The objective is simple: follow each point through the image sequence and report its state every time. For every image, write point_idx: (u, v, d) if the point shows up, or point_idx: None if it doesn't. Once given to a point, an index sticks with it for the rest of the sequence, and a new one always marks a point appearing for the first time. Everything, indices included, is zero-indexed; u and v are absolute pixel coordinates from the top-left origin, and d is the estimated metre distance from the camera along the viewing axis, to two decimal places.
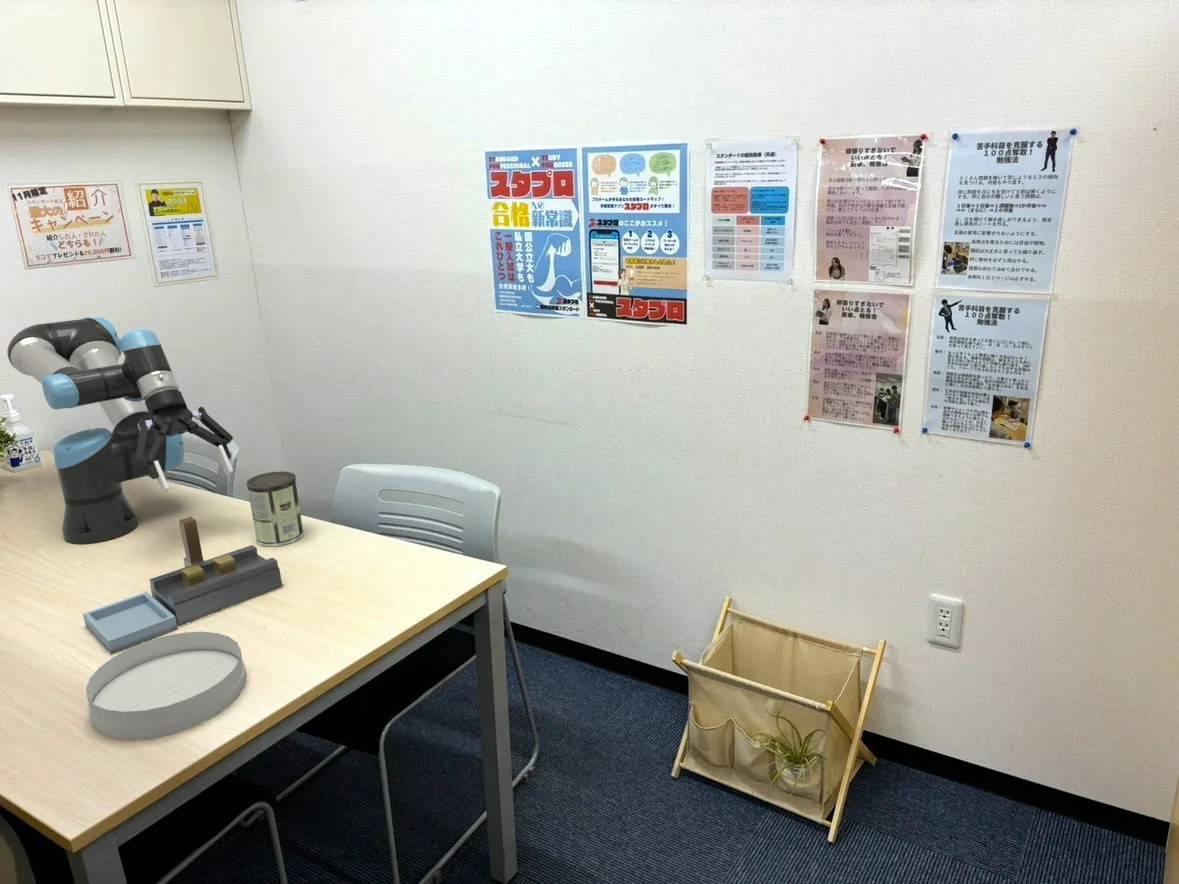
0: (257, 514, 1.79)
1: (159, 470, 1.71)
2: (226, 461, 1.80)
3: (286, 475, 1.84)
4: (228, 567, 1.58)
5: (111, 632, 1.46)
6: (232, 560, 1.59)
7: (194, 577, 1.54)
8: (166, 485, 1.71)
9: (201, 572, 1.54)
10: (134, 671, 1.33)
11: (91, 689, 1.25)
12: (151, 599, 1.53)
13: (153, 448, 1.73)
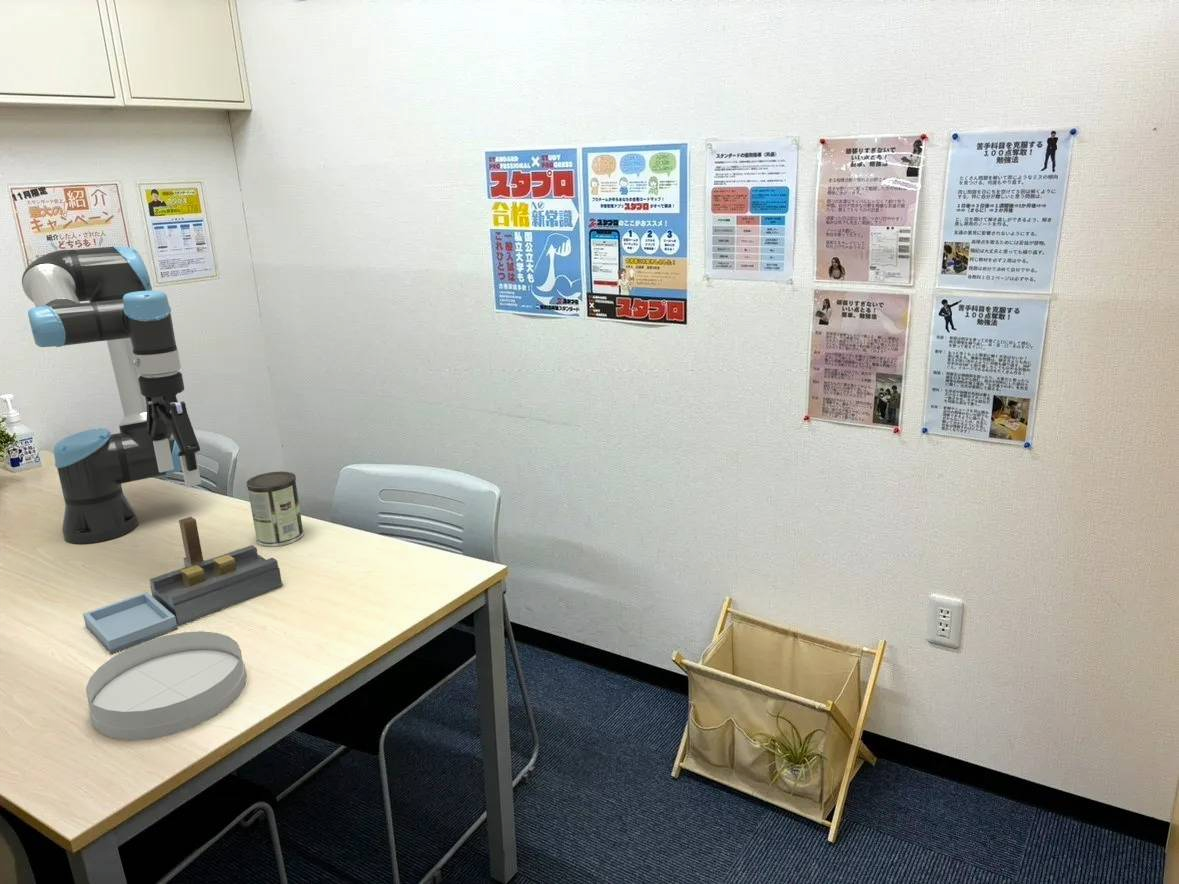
0: (257, 514, 1.79)
1: (155, 452, 1.65)
2: (183, 474, 1.56)
3: (286, 475, 1.84)
4: (228, 567, 1.58)
5: (111, 632, 1.46)
6: (232, 560, 1.59)
7: (194, 577, 1.54)
8: (159, 469, 1.66)
9: (201, 572, 1.54)
10: (134, 670, 1.33)
11: (91, 689, 1.25)
12: (151, 599, 1.53)
13: (152, 428, 1.63)
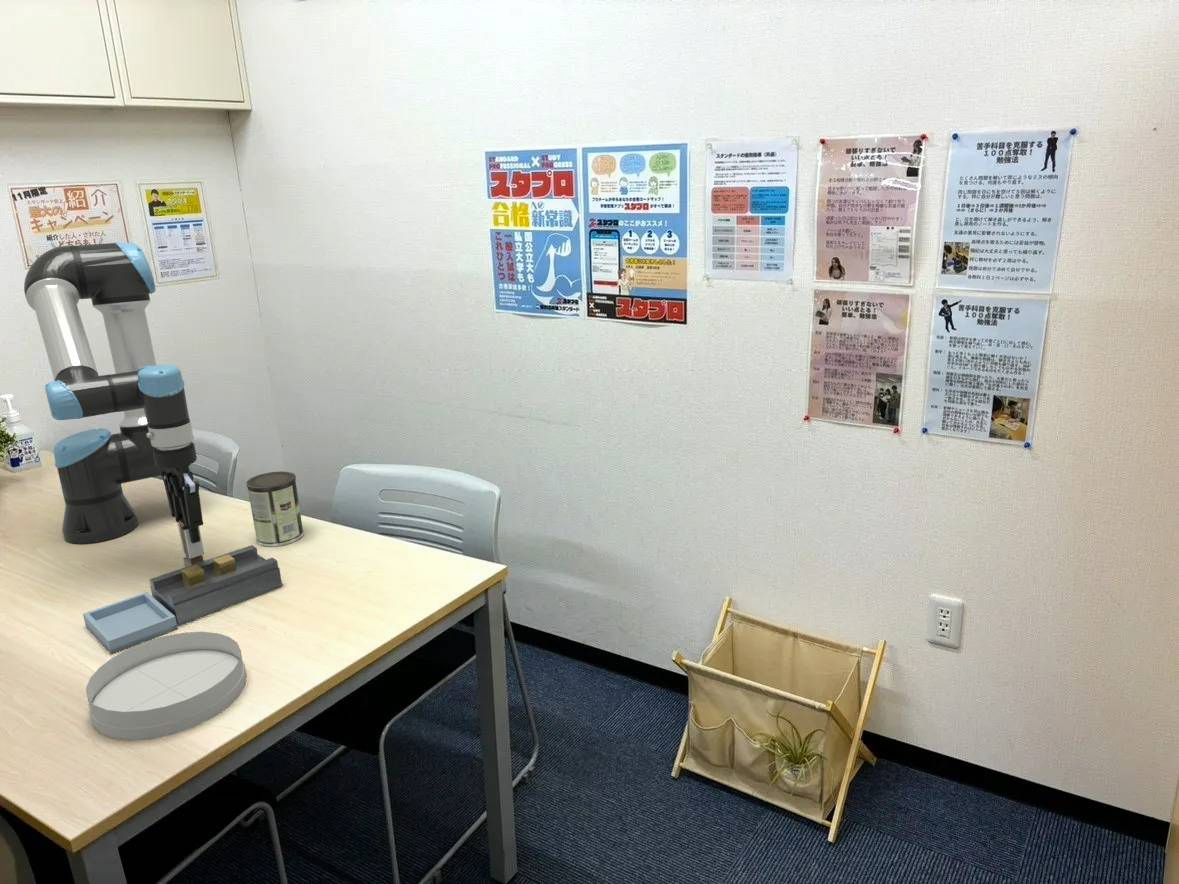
0: (257, 514, 1.79)
1: (180, 534, 1.66)
2: (187, 546, 1.65)
3: (286, 475, 1.84)
4: (228, 567, 1.58)
5: (111, 632, 1.46)
6: (232, 560, 1.59)
7: (194, 577, 1.54)
8: (183, 550, 1.67)
9: (201, 572, 1.54)
10: (134, 671, 1.33)
11: (91, 689, 1.25)
12: (151, 599, 1.53)
13: (174, 507, 1.65)
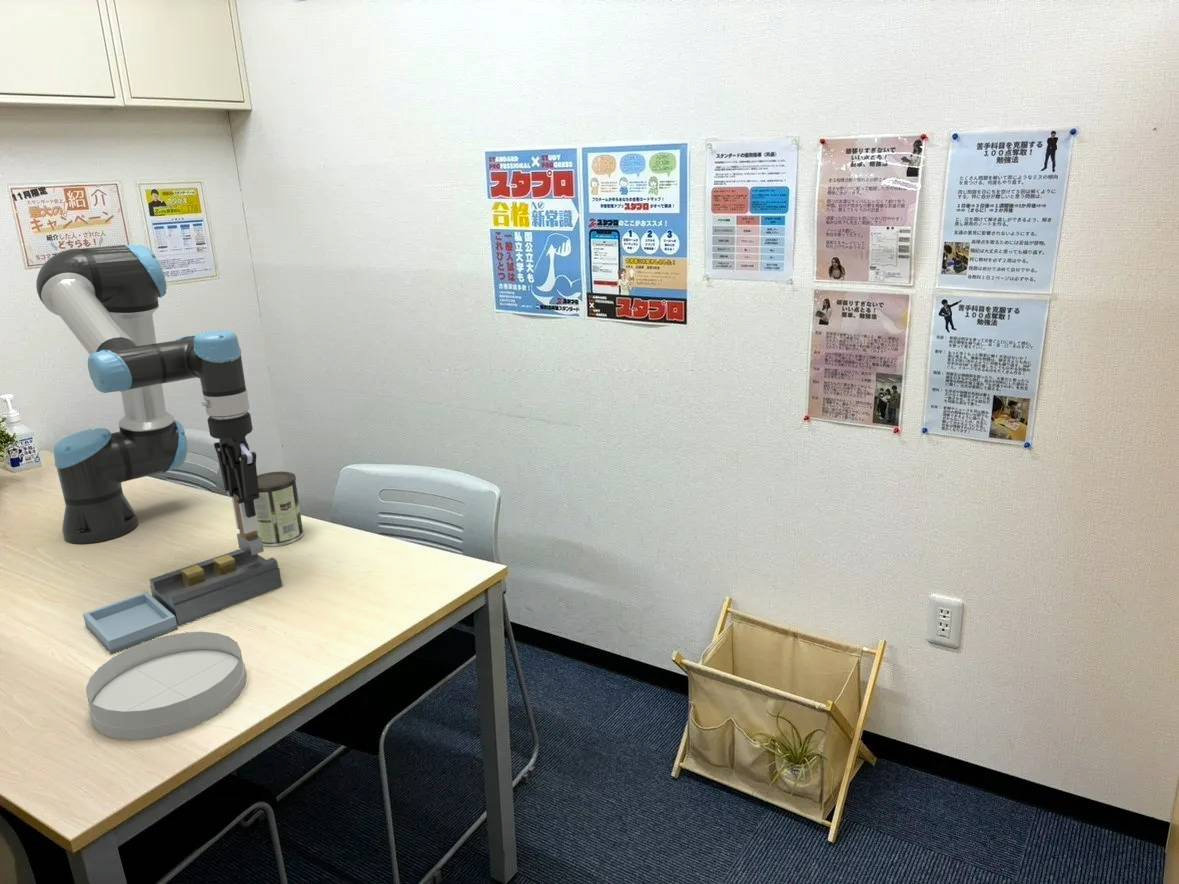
0: (257, 514, 1.79)
1: (234, 509, 1.60)
2: (242, 521, 1.58)
3: (286, 475, 1.84)
4: (228, 567, 1.58)
5: (111, 632, 1.46)
6: (232, 560, 1.59)
7: (194, 577, 1.54)
8: (237, 526, 1.61)
9: (201, 572, 1.54)
10: (134, 671, 1.33)
11: (91, 689, 1.25)
12: (151, 599, 1.53)
13: (228, 481, 1.59)
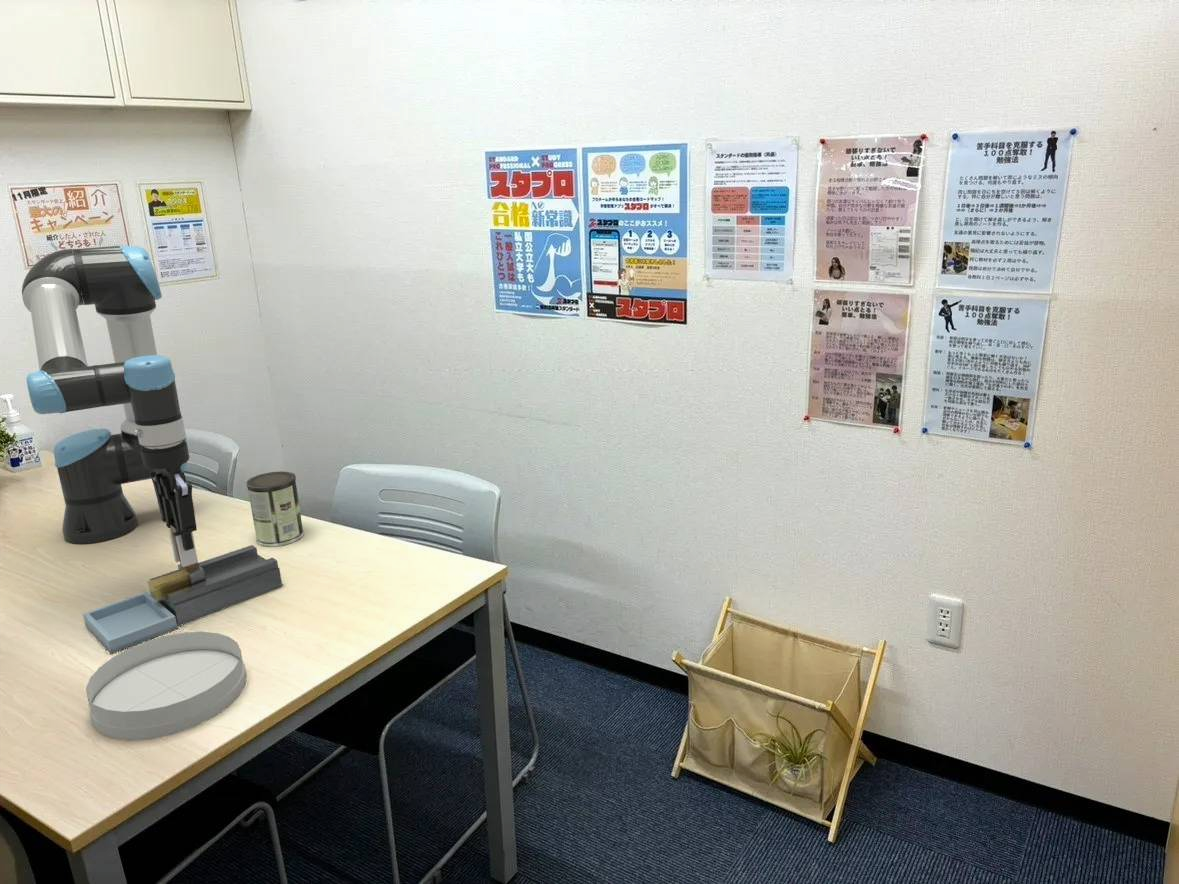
0: (257, 514, 1.79)
1: (171, 541, 1.52)
2: (179, 554, 1.51)
3: (286, 475, 1.84)
4: (181, 583, 1.52)
5: (111, 632, 1.46)
6: (185, 576, 1.52)
7: (161, 588, 1.50)
8: (175, 558, 1.53)
9: (168, 583, 1.50)
10: (135, 671, 1.33)
11: (91, 689, 1.25)
12: (151, 599, 1.53)
13: (165, 512, 1.51)
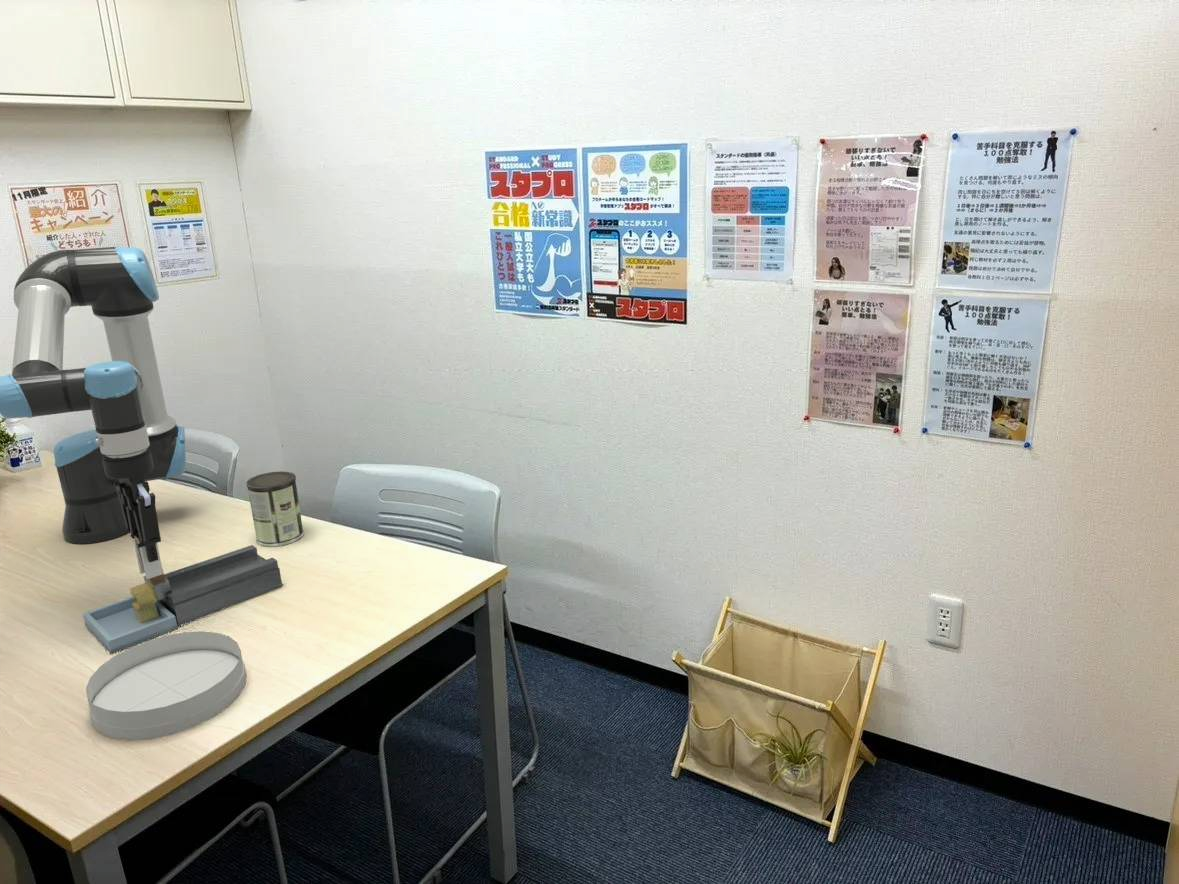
0: (257, 514, 1.79)
1: (136, 552, 1.48)
2: (144, 565, 1.47)
3: (286, 475, 1.84)
4: (146, 596, 1.48)
5: (111, 632, 1.46)
6: (150, 588, 1.48)
7: (145, 615, 1.48)
8: (140, 570, 1.49)
9: (140, 610, 1.48)
10: (134, 670, 1.33)
11: (91, 689, 1.25)
12: None
13: (129, 522, 1.47)
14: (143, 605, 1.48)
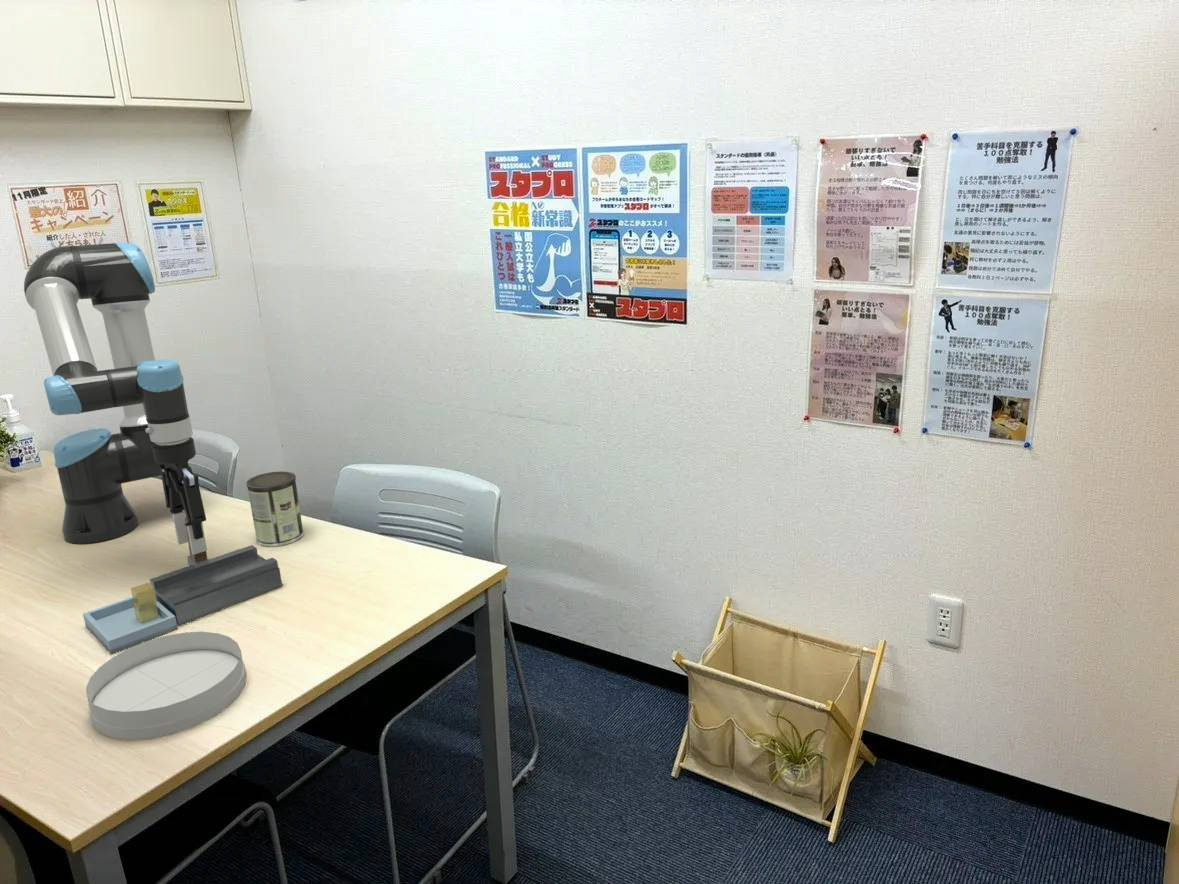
0: (257, 514, 1.79)
1: (174, 525, 1.67)
2: (190, 542, 1.63)
3: (286, 475, 1.84)
4: (146, 596, 1.48)
5: (111, 632, 1.46)
6: (151, 589, 1.48)
7: (145, 616, 1.48)
8: (178, 541, 1.68)
9: (141, 610, 1.48)
10: (135, 670, 1.33)
11: (91, 689, 1.25)
12: None
13: (170, 499, 1.66)
14: (143, 605, 1.48)
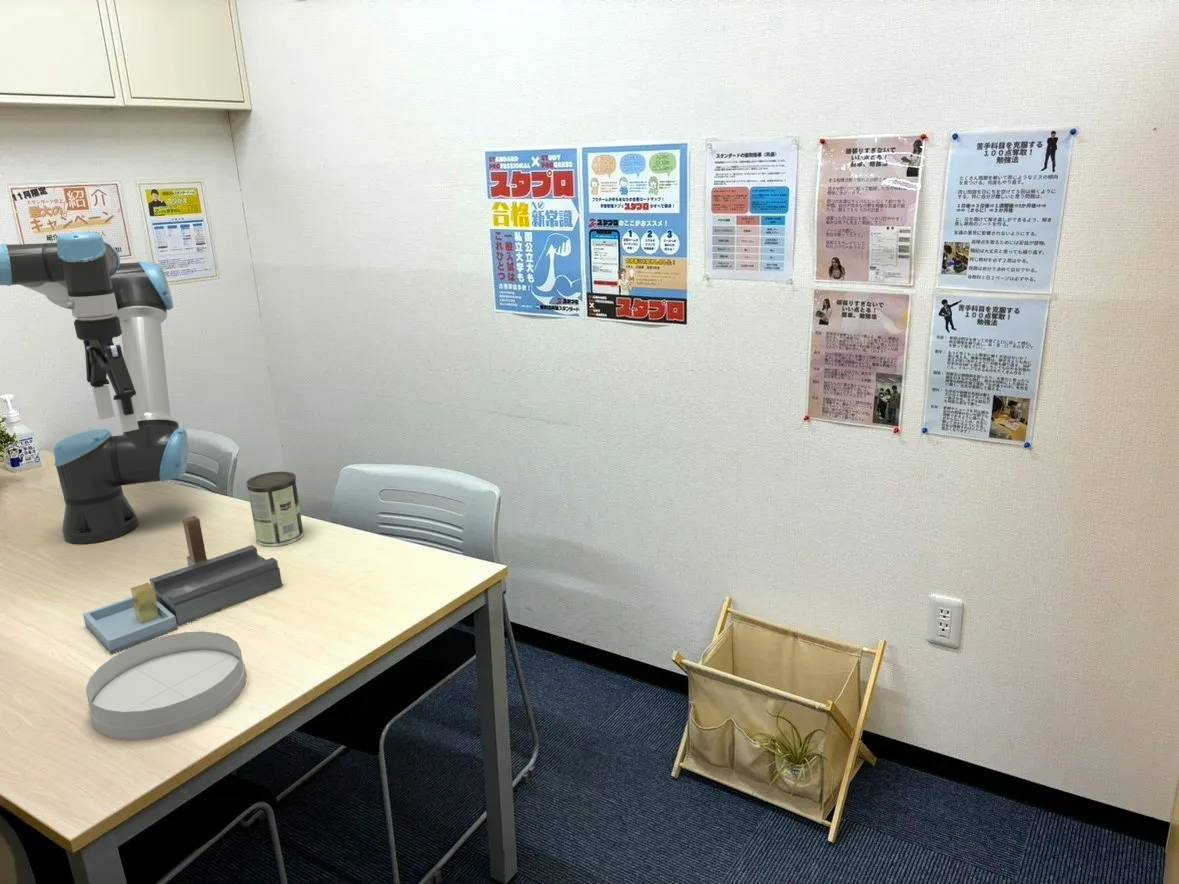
0: (257, 514, 1.79)
1: (95, 398, 1.64)
2: (120, 419, 1.55)
3: (286, 475, 1.84)
4: (146, 596, 1.48)
5: (111, 632, 1.46)
6: (151, 589, 1.48)
7: (145, 616, 1.48)
8: (99, 416, 1.65)
9: (141, 610, 1.48)
10: (135, 670, 1.33)
11: (91, 689, 1.25)
12: None
13: (91, 374, 1.62)
14: (143, 605, 1.48)
